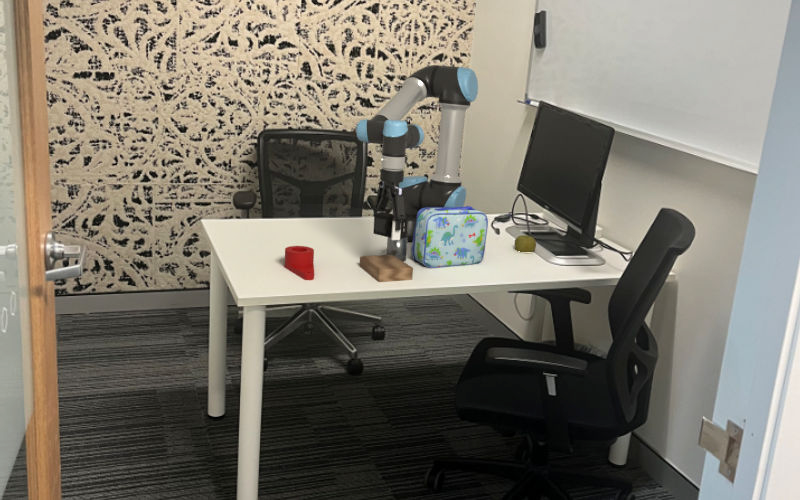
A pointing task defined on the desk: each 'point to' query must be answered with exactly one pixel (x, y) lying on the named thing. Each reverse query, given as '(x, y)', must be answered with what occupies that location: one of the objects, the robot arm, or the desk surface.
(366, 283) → the desk surface
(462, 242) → the lunch box
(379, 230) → the digital camera
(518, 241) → the olive rounded block
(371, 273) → the walnut riser
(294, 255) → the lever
